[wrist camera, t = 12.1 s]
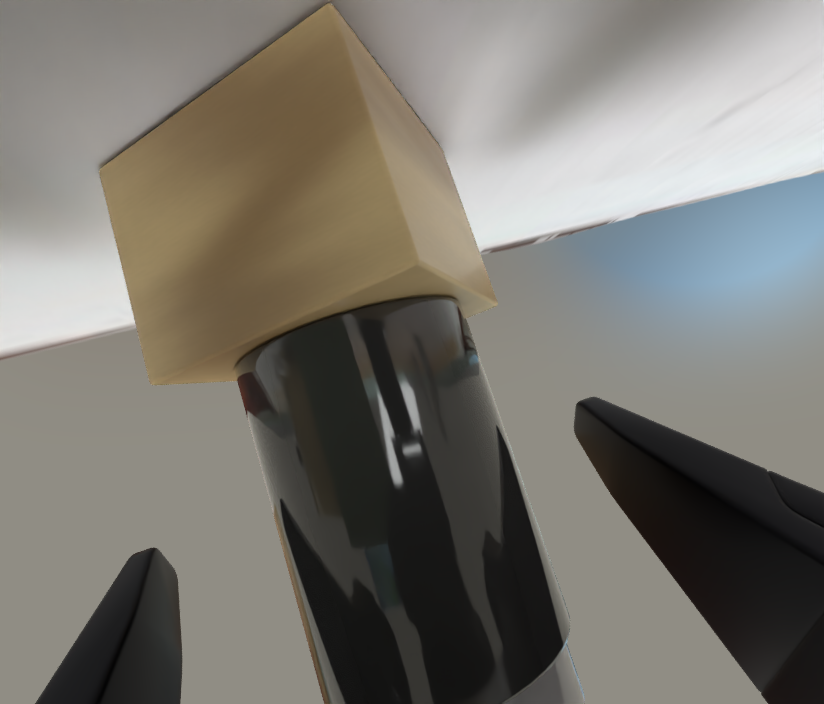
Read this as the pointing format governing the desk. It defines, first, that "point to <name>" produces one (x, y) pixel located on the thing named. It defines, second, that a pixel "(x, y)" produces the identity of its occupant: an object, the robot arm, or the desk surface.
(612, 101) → the desk surface
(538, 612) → the pepper shaker
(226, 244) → the maple block
